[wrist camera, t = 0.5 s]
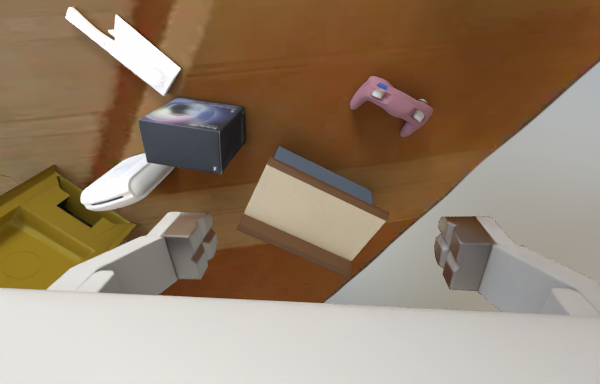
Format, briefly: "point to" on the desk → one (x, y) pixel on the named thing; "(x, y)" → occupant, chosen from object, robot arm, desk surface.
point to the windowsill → (311, 212)
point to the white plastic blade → (131, 51)
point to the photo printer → (124, 184)
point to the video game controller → (393, 103)
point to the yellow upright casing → (51, 231)
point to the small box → (193, 134)
